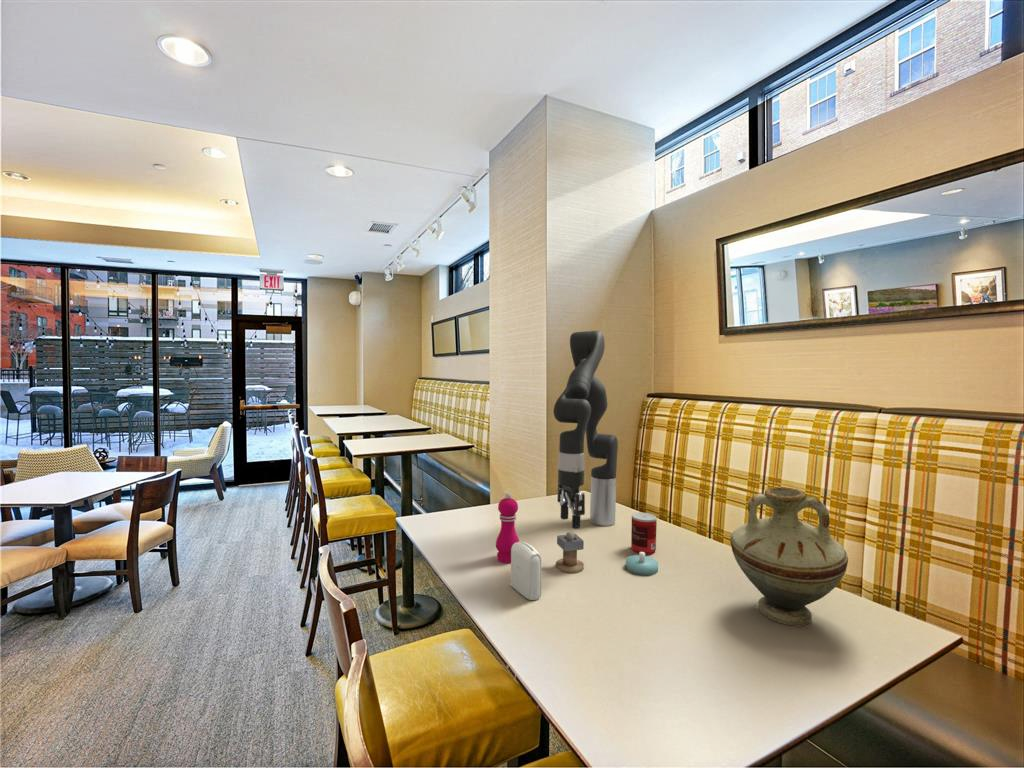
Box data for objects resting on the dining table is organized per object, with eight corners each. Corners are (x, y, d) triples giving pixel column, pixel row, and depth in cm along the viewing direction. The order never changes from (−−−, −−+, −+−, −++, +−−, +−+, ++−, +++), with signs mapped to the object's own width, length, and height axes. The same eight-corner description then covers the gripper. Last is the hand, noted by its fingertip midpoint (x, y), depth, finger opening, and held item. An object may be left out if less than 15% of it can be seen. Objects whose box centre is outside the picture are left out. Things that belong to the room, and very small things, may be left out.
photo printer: (508, 585, 122) (509, 539, 122) (522, 582, 124) (523, 536, 124) (528, 602, 113) (529, 552, 113) (543, 598, 115) (544, 549, 115)
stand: (551, 562, 137) (552, 529, 137) (576, 560, 139) (577, 527, 139) (562, 574, 129) (562, 539, 129) (588, 571, 131) (588, 536, 131)
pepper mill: (516, 565, 135) (517, 497, 134) (492, 562, 137) (493, 495, 136) (521, 555, 142) (522, 491, 142) (498, 553, 144) (499, 489, 143)
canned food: (653, 546, 151) (653, 512, 151) (658, 555, 143) (659, 520, 143) (629, 544, 152) (629, 511, 152) (633, 554, 144) (633, 519, 144)
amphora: (710, 600, 118) (708, 485, 114) (778, 577, 126) (778, 470, 123) (795, 658, 96) (796, 519, 92) (871, 626, 104) (874, 497, 101)
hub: (620, 563, 137) (620, 548, 137) (646, 560, 140) (647, 545, 139) (636, 576, 128) (636, 560, 128) (664, 573, 131) (664, 557, 131)
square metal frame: (557, 543, 136) (557, 535, 136) (575, 542, 138) (575, 533, 138) (564, 551, 130) (564, 542, 130) (583, 549, 132) (583, 540, 132)
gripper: (550, 463, 139) (549, 517, 140) (568, 473, 125) (567, 532, 126) (573, 462, 141) (572, 515, 142) (594, 472, 128) (592, 530, 128)
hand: (570, 523), depth 134 cm, fingers open, 8 cm apart
